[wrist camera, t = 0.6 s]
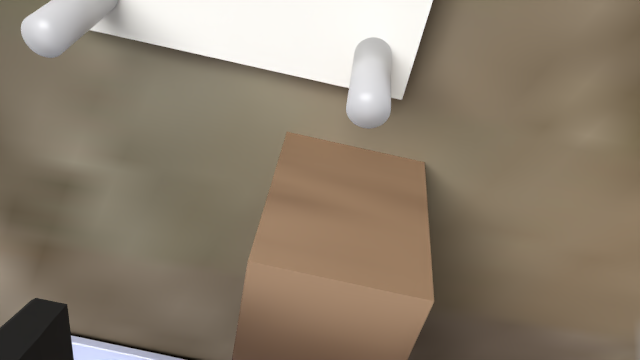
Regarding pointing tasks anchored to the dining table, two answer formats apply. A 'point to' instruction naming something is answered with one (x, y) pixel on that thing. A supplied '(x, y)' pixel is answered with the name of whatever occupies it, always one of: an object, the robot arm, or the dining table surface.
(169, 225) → the dining table surface
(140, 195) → the dining table surface
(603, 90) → the dining table surface
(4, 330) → the robot arm
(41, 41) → the standoff plate
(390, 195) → the walnut block
